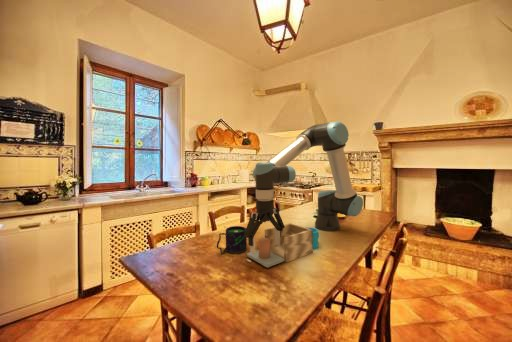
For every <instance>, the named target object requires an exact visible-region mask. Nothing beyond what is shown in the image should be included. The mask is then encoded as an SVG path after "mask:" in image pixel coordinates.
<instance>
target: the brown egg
mask: <svg viewBox="0 0 512 342" xmlns="http://www.w3.org/2000/svg"><path fill="white" fill-rule="evenodd" d="M257 243H258V249H257V250H259V258H262V259H267V258H270V239H268V238H265V237H261V238H258V242H257Z"/></svg>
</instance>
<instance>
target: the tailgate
mask: <svg viewBox="0 0 512 342" xmlns="http://www.w3.org/2000/svg"><path fill="white" fill-rule="evenodd" d="M246 257H248V258H250V259H251V260H253V261H255V262H257V263H258V264H260V265H262V266H263V267H265V268H271V267H272V266H275V265H277V264H280V263H283V262H284V261H285V258H283V257H281V256H279V255H277V254H275V253H273V252H270V258H267V259H262V258H259V250H258V249H257V250H256V249H255V254H252V253H250V252H247V253H246Z"/></svg>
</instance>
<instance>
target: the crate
mask: <svg viewBox="0 0 512 342" xmlns="http://www.w3.org/2000/svg"><path fill="white" fill-rule="evenodd" d="M284 226H285V227H284V228H283V231H281V237H280V246H278V245H275V230H277V229H276V228H275V227H274V226H273V227H271V228H267V229H264V238H268V239H270V252H273V253H275V254H277V255H279V256H281V257H283V258H285V261H283V262H284V263H289V262H292V261H294V260H297V259H300V258H301V257H305V256H307V255H310V254H312V253H314V252H313V251H314V249H313V230H311V229H308V228H309V227H304V226H300V225H297V224H294V223H287V224H284Z"/></svg>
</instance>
